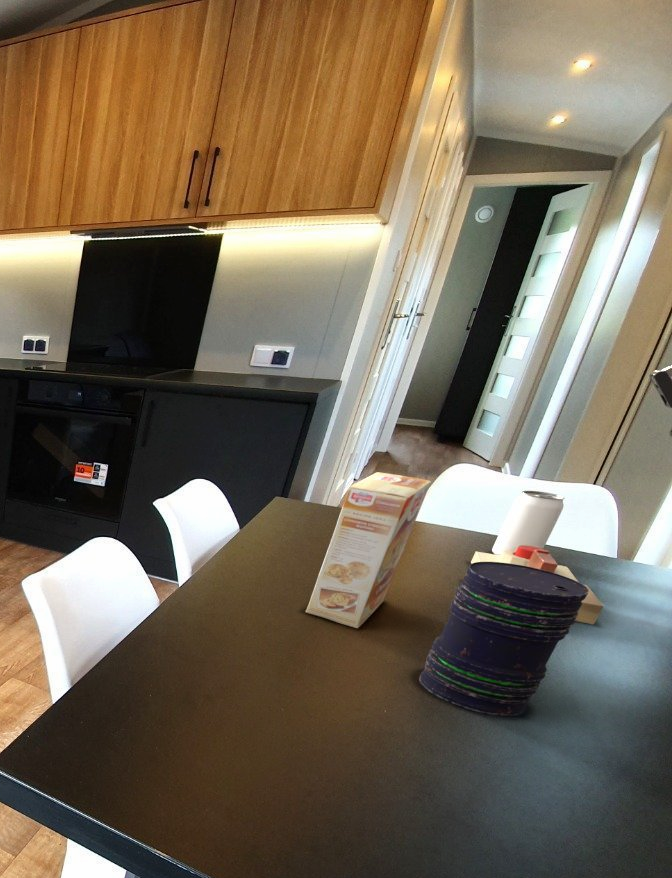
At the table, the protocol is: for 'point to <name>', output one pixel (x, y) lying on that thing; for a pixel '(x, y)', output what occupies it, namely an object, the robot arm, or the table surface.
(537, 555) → the holder
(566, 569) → the button box
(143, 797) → the table surface
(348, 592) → the coffeecake box
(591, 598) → the holder base
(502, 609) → the dark blue barrel
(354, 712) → the table surface
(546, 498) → the can
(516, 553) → the button
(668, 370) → the robot arm
